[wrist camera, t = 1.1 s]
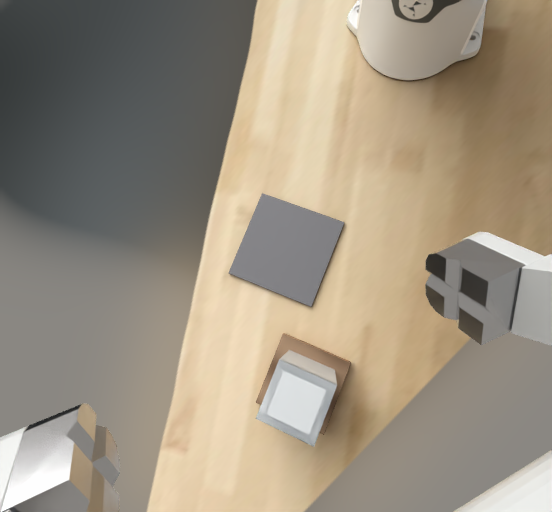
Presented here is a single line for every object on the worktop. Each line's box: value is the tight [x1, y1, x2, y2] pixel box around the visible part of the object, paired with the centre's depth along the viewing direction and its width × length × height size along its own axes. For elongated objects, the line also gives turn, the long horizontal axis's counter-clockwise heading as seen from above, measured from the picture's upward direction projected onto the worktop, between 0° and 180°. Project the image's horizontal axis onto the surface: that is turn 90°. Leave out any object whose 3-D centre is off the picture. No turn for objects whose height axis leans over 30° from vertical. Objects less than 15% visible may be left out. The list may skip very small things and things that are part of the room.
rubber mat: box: [229, 193, 344, 307], centre depth 48 cm, size 12×12×1 cm
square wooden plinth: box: [256, 333, 351, 435], centre depth 43 cm, size 9×9×6 cm
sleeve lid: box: [256, 350, 337, 447], centre depth 39 cm, size 6×6×10 cm
